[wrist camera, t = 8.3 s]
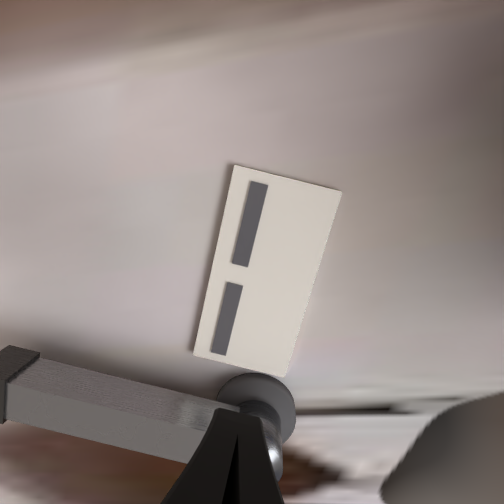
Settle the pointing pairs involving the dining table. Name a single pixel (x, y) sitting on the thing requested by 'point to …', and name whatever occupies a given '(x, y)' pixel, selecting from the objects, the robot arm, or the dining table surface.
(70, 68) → the dining table surface
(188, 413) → the swing arm
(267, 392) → the gray disc base
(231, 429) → the robot arm
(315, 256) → the label card
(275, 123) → the dining table surface
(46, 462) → the dining table surface
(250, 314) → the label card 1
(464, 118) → the dining table surface
